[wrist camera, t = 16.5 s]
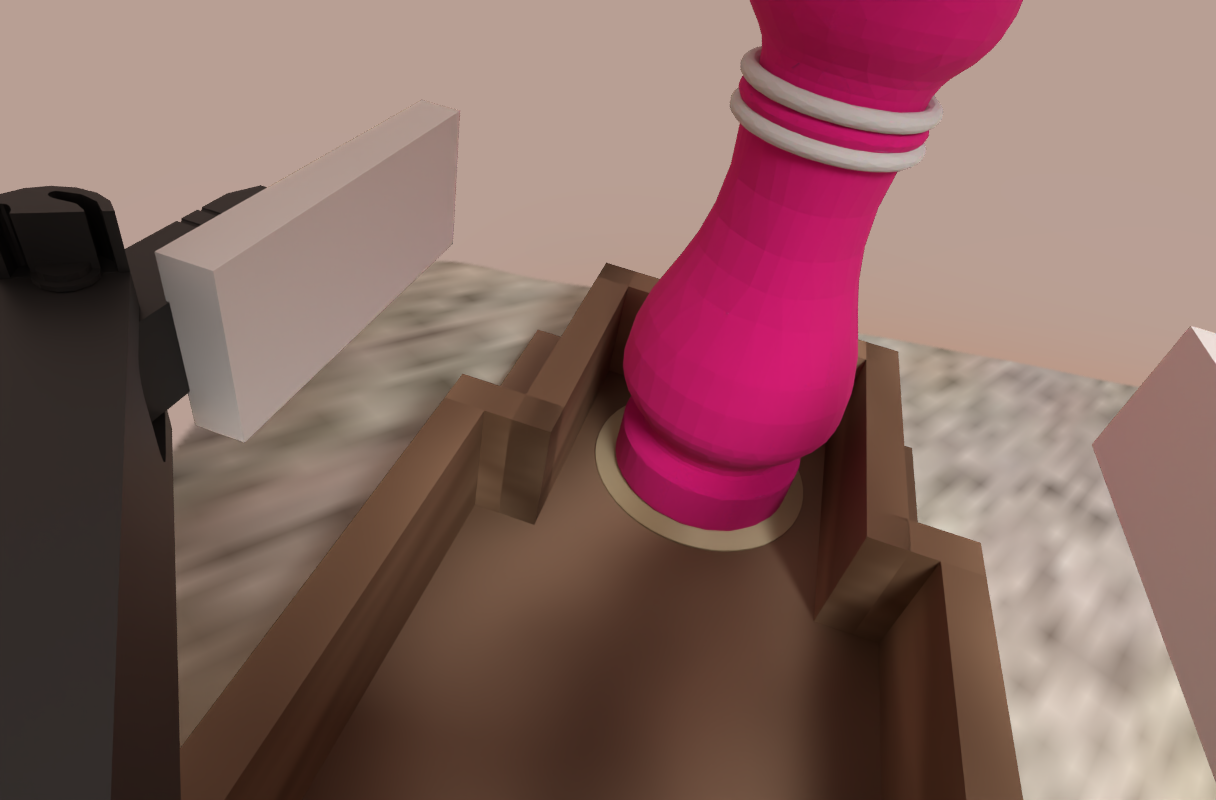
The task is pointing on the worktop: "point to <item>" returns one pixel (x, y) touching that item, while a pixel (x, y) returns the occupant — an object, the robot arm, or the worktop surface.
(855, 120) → the pepper mill
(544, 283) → the worktop surface
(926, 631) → the keyhole cradle
